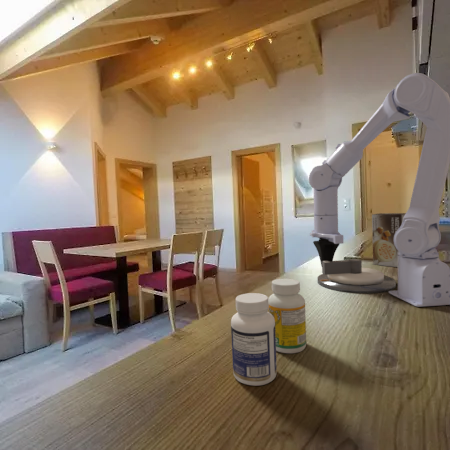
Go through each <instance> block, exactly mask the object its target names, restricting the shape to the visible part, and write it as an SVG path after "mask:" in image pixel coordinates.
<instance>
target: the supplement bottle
mask: <svg viewBox="0 0 450 450" xmlns="http://www.w3.org/2000/svg"><path fill="white" fill-rule="evenodd" d="M271 290H272V292H273V293H272V294H271V295H269V296H268V303H269V307H268V308H269V309H268V311H267V312H269V313H270V314H272V316H273V317H274V320H275V336H276V352H278V353H282V354H297V353H300V352H302V351H304V349H305V348H307V347H306V346H307V329H306V328H307V327H306V325H307V323H306V321H307V320H306V317H307V316H306V301H305V300H306V299H305V298H304V297H303V295H301V294H300V291H301V284H300V281H299V280H297V279H292V278H276V279H273V280H272V281H271Z"/></svg>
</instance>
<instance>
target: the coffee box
mask: <svg viewBox="0 0 450 450" xmlns="http://www.w3.org/2000/svg"><path fill="white" fill-rule="evenodd" d="M405 214H406V212H397V213H396V212H394V213H392V212H389V213H381V212H379V213H374V214H371V224H372V225H371V227H372V231H371V234H372V235H371V237H372V240H371V241H372V265H374V266H383V267H384V266H385V267H386V266H387V267H394V268H398V252H399V251H398V250H397V248H396V247H395V245H394V235H395V233H396V231H397V230H398V229H399V228H400V226H401V225H402V222H403V218H404V216H405Z"/></svg>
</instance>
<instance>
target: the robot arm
mask: <svg viewBox="0 0 450 450" xmlns="http://www.w3.org/2000/svg"><path fill="white" fill-rule="evenodd" d="M410 113H411V114H413V115H415V117H417V118H418V119H419V121H420V122H422V123H423V125H424V126H425V127H426V129H425V135H424V137H423V143H422V148H421V152H420V153H421V154H420V157H419V161H418V167H417V170H416V175H415V180H414V184H413V189H412V195H411V198H410V202H409V207H408V209H407V210H406V212H405V213H406V214H405V216H404V218H403V222H402V225H401V226H400V228H399V229H398V230H397V231H396V233H395V235H394V245H395V247H396V248H397V250H398V251H399V252H398V267H397V290H390V291H388V294H390V295H391V296H394V297H395V298H398V299H400V300H402V301H404V302H406V303H408V304H411V305H412V306H413V307H414V306H415V307H416V308H417V307H422V308H423V307H435V306H446V305H447V306H448V305H449V306H450V266H449V265H448V264H447V263H446V262H443V261H442V260H441V259H440V256H439V255H440V254H439V252H438V251H437V247H438V246H439V244H440V242H441V239H442V234H441V231H440V220H441V218H440V213H439V211H440V205H441V201H442V198H443V193H444V189H445V185H446V180H447V177H448V173H449V168H450V96H449V92H447V91H446V90H445V89H443V88H442V87H441V86H440V85H439V84H438V83H437V82H436V81H435V80H433V79H432V78H431V77H429V76H428V75H427V74H424V73H422V72H421V73H420V72H414V73H410V74H407V75H405V77H402V79H400V81H399V82H398V83H397V84H396V87H394V88H393V89H391V90H390V91H389V92H388V93H387V95H386V96H385V98H384V100H383V102H382V103H381V104H380V106H379V107H378V108H377V110H376V111H374V113H373V114H372V115H371V116H370V118H369V119H368V120H367V121H366V122H365V123H364V125H363V126H362V127H361V128H360V130H359V131H358V132H357V133H356V134H355V135H354V136H353V138H352V139H351V140H347V141H342V142H341V143H337V144H336V146H335V147H334V148H335V150H334V152H332V153H331V154H330V156H329V157H328V158H327V159H326V160H325V159H324V160H323V161H322V163H321V165H317V166H314V167H313V168H312V170H311V171H310V173H309V175H308V182H309V185H310V187H312V189H313V229H311V232H310V233H309V236H311V238H317V239H318V240H314V241H313V242H312V243H313V245H314V247H315V248H316V251H317V253H318V256H319V260H320V265H321V267H322V261H334V258H335V254H336V252H337V250H338V247H339V246H340V244H344V234H341V233H340V232H339V212H338V211H339V210H338V209H339V207H338V206H339V203H338V201H339V200H338V195H339V193H338V192H339V191H338V190H339V187H341V184H342V183H343V178H344V177H345V176H346V175H347V174H348V173H349V172H350V171H351V170H352V169H353V167H355V166H356V165H357V164H358V163H359V162H360V161H361V160H362V159H363V155H364V154H363V153H364V150H365V149H366V147H367V146H369V145H370V144H371V143H372V142H374V140H375V139H377V137H378V136H379V135H381V133H383V132H384V131H385V130H386V129H387V128H388V127H389V126H390V125H391V124H392V123H395V122H401V121H404V120H409V119H411V115H410Z"/></svg>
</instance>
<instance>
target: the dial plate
mask: <svg viewBox="0 0 450 450" xmlns="http://www.w3.org/2000/svg"><path fill="white" fill-rule="evenodd" d="M317 284H318V285H319V286H321V287H323V288H326V289H329V290H332V291H338V292H343V293H352V294H353V293H354V294H377V293H380V294H381V293H385V292H389V291H393V290H394V289H396V287H397V285H396V284H397V281H396V280H395V279H394V278H393V277H391V276H388V275H385V274H384V281H383V282H381V283H378V284H372V285H351V284H343V283H338V282H334V281H331V280H329V279H328V274H327V275H324V274H323V273H322V274H319V275H318V276H317Z"/></svg>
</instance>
